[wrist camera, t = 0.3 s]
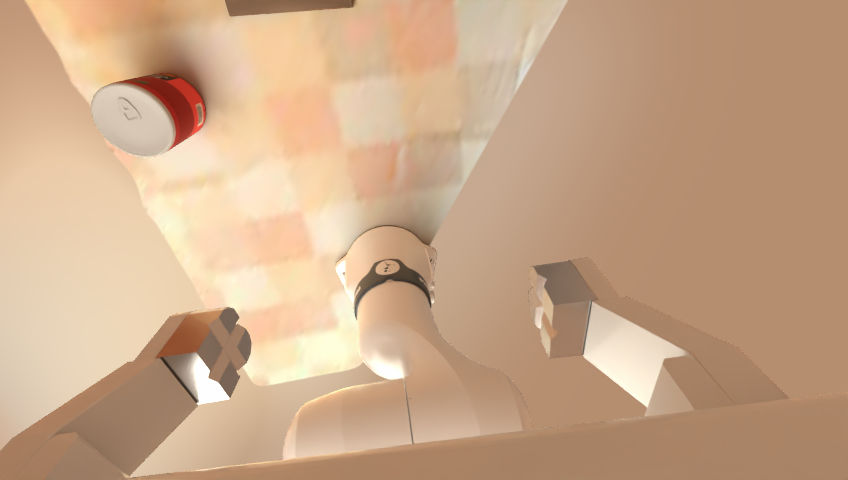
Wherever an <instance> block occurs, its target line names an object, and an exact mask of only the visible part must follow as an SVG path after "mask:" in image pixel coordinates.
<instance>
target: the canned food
mask: <svg viewBox="0 0 848 480" xmlns="http://www.w3.org/2000/svg"><path fill="white" fill-rule="evenodd" d="M91 111H92V117H93V119H94V122H95V125H96V126H97V127H98V130H99V131H100V132H101V134H102V135H103V136H104V137H105V138H106V139H107V140H108V141H109V142H110V143H111V144H112V145H114V146H115V147H117V148H118V149H120V150H122V151H123V152H125V153H128V154H131V155H133V156H138V157H155V156H158V155H161V154H163V153H165V152H167V151H169V150H170V149H172V148H173V147H175V146H176V145H178V144H179V143H181V142H182V141H184V140H185V139H187V138H189V137H190V136H192V135H193V134H195V133H196V132H198V131H199V130H200V129H201V128H202V126H203V124H204V122H205V116H206V110H205V105H204V102H203V100H202V98H201V96H200V95H199V93H198V92H197V91H196V90H195V88H194V87H193V86H191V85H190V84H189V83H188V82H186V81H185V80H183V79H181V78H179V77H176V76H174V75H170V74H163V73H160V74H154V75H149V76H144V77H139V78H134V79H129V80H124V81H119V82H116V83H111V84H109V85H106V86H104V87H102V88H101V89H99V90H98V91H97V92H96V94H95V95H94V96H93V99H92V102H91Z"/></svg>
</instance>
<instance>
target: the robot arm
mask: <svg viewBox="0 0 848 480" xmlns="http://www.w3.org/2000/svg"><path fill="white" fill-rule="evenodd" d="M430 258H431V260H429V259H430ZM436 258H437V253H436V250H435V249H434V248H432V247H431V246H428V245H426V244H423V243H422V242H421V241H420V240H419V239H418V238H417V237H416V236H415V235H414V234H412V233H411V232H409V231H407V230H405V229H402V228H399V227H393V226H384V227H378V228H374V229H371V230H369V231H367V232H365V233H364V234H362V235H361V236H359V237H358V238H357V239H356V240H355V242H354V243H353V244H352V246H351V248H350V250H349V251H348V253H347V255H346V256H344V257H343V258H342V259H340V260H339V261H338V262H337V264H336V271H337V273H338V275H339V277H340V279H341V281H342V283H343V285H344V287H345V290H346V292H347V293H348V295H349V297H350V299H351V301H352V303H353V305H354V311H355V317H356V320H357V342H358V344H357V346H358V351H359V354H360V356H361V358H362V360H363V361H364V363H365V364H366V365H367V366H368V367H369V368H370V369H371V370H372V371H373V372H375V373H376V374H377V375H379V376H381V377H384V378H386V379H389V380H387V381H382V382H376V383H370V384H364V385H358V386H352V387H346V388H343V389H340V390H337V391H334V392H332V393H329V394H326V395H324V396H321V397H319V398H316V399H314V400H311V401H309V402H307V403H305V404H303V406H302V407H301V408H300V409H299V411H298V412H297V413H296V415H295V416H294V418H293V420H292V422H291V424H290V426H289V429H288V431H287V434H286V438H285V442H284V448H283V460H276V461H267V462H259V463H250V464H243V465H233V466H226V467H217V468H209V469H201V470H192V471H183V472H174V473H166V474H158V475H149V476H141V477H133V478H130V477H129V476H130V475H131V474H132V473H133V472H134V471H135V470H136V469H137V468H138V467H139V466H140V464H142V463H143V462H144V461H145V459H146V458H147V457H148V456H149V455H150V454H151V453H152V452H153V451H154V450H155V449H156V448H157V447H158V446H159V445H160V444H161V443H162V442H163V441H164V440H165V439H166V438H167V437H168V436H169V435H170V434H171V433H172V432H173V431H174V430H175V429H176V428H177V427H178V426H179V425H180V424H181V423H182V422H183V420H184V419H185V418H186V417H187V416H188V415H189V414H190V413H191V412H192V411H193V410H194V409H195V408H196V407H197V406H198V405H197V404H201V403H207V402H214V401H220V400H226V399H230V397H231V395H232V393H233V391H234V389H235V386H236V384H237V382H238V380H239V378H240V375H239V373H238V370H239V369H240V368H241V367H242V366H243V365H245V364H246V363H247V361H248V358H249V356H250V353H251V339H250V335H249V333H248V332H247V330H246V329H245V328H244V327H242V326H240V325H238V324H237V323H238V320H239V316H238V314H237V313H236V311H235V310H234V309H233V308H229V307H225V308H216V309H208V310H199V311H193V312H183V313H176V314H174V315H172V316H170V317H169V318H168V319H167V321H166V322H165V323H164V324H163V326H162V327H161V328H160V329H159V331H158V332H157V333H156V334H155V335H154V337H153V338H152V339H151V340H150V342H149V343H148V344H147V345H146V347H145V348H144V349H143V350H142V352H141V353H140V354H139V355H138V357H137V358H136V359H135V360H134V361H133V362H127V363H126V364H124V365H123V366H121V367H120V368H118V369H117V370H115V371H114V372H112V373H111V374H109V375H108V376H106V377H105V378H103V379H101V380H100V381H99V382H97V383H96V384H94V385H92V386H91V387H89V388H88V389H86V390H85V391H83V392H82V393H80V394H79V395H77V396H76V397H74V398H73V399H71V400H70V401H68V402H67V403H65V404H64V405H62V406H61V407H59V408H58V409H56V410H55V411H53V412H51V413H50V414H48V415H47V416H45V417H44V418H42V419H41V420H39V421H38V422H36V423H35V424H33V425H32V426H30V427H29V428H27V429H26V430H24V431H23V432H21V433H20V434H18V435H17V436H15V437H14V438H12V439H11V440H10V441H9V442H8V443H7V444H6V445H5V447H4V448H3V449H2V450H1V451H0V480H848V392H840V393H832V394H824V395H815V396H808V397H798V398H789V397H788V396H787V395H786V394H785V393H784V392H783V391H782V390H781V389H780V388H779V387H778V386H777V385H776V384H775V383H774V382H773V381H772V380H771V379H770V378H769V377H768V376H767V375H766V374H765V373H763V371H762V370H761V369H760V368H758V366H756V365H755V364H754V363H753V362H752V361H751V360H750V359H749V358H748V357H747V356H746V355H745V354H744V353H743V352H742V351H741V350H740V349H739V348H738V347H735V346H733V345H731V344H729V343H727V342H725V341H722V340H720V339H718V338H716V337H714V336H712V335H710V334H707V333H705V332H703V331H701V330H699V329H697V328H694V327H692V326H690V325H688V324H685V323H684V322H681V321H679V320H677V319H675V318H672V317H671V316H668V315H666V314H664V313H662V312H660V311H658V310H655V309H653V308H651V307H649V306H647V305H644V304H642V303H640V302H638V301H636V300H634V299H631V298H629V297H621V296H620V295H619V294H618V293H617V291H616V290H615V289H614V288H613V286H612V285H611V284H610V282H609V281H608V280H607V279H606V278H605V276H604V275H603V274H602V272H601V271H600V270H599V269H598V267H597V266H596V265H595V264H594V263H593V261H592V260H591V259H590V258H581V259H574V260H568V261H565V262H558V263H551V264H544V265H536V266H531V267H530V270H529V280H530V282H531V284H532V288H531V289H530V290H529V292H528V295H529V296H528V298H529V299H528V301H529V307H530V313H531V316H532V319H533V322H534V324H535V326H537V327H538V328H540V329H541V340H542V342H543V345H544V347H545V350H546V352H547V354H548V356H549V358H560V357H570V356H580V355H584V356H583V357H584V358H586V359H587V360H588V361H589V362H591V363H592V364H593V365H594V366H596V367H597V368H599V370H601V371H602V372H603V373H605V374H606V375H607V376H608V377H610V378H611V379H612V380H613V381H615V382H616V383H617V384H618V385H620V386H621V387H622V388H623V389H625V390H626V391H627V392H628V393H630V394H631V395H632V396H634V397H635V398H636V399H637V400H639V401H640V402H641V403H642V404H644V405H645V406H646V407H647V410H646V413H645V416H641V417H632V418H624V419H616V420H608V421H599V422H591V423H582V424H574V425H566V426H558V427H549V428H541V429H533V430H531V423H530V415H529V411H528V407H527V404H526V401H525V399H524V397H523V395H522V393H521V392H520V390H519V388H518V387H517V385H516V384H515V383H514V382H513V381H512V380H511V379H510V378H509V377H508V376H507V375H506V374H504V373H503V372H502V371H500V370H499V369H495V368H492V367H489V366H486V365H483V364H481V363H478V362H476V361H474V360H472V359H470V358H469V357H466V356H465V355H464V354H462V353H461V352H459V351H458V350H456V349H455V348H454V347H453V346H452V345H450V344H449V343H448V342H447V341H446V340H445V339H444V337H443V336H442V335H441V333H440V332H439V330H438V328H437V325H436V323H435V321H434V317H433V315H432V312H431V303H434V292H433V291H431V289H433V288H434V281H433V276H434V270H435V263H436ZM343 272H345V273H343ZM404 386H405V387H404ZM405 393H406V394H405Z"/></svg>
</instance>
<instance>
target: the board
mask: <svg viewBox="0 0 848 480" xmlns="http://www.w3.org/2000/svg"><path fill="white" fill-rule="evenodd" d="M225 2H226V5H227V9H228V12H229V15H230V16H243V15H256V14H270V13H283V12H297V11H310V10H323V9H337V8H350V7H353V6H352V0H225Z"/></svg>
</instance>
